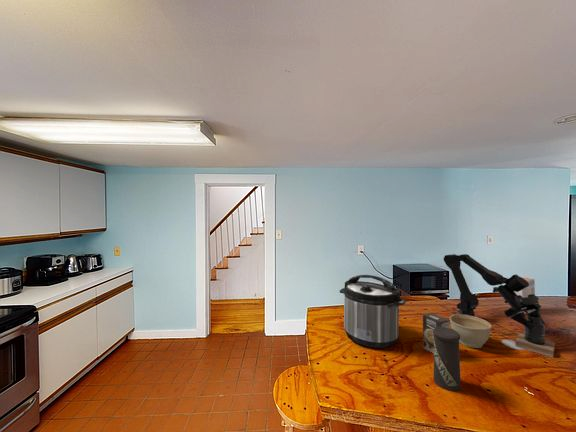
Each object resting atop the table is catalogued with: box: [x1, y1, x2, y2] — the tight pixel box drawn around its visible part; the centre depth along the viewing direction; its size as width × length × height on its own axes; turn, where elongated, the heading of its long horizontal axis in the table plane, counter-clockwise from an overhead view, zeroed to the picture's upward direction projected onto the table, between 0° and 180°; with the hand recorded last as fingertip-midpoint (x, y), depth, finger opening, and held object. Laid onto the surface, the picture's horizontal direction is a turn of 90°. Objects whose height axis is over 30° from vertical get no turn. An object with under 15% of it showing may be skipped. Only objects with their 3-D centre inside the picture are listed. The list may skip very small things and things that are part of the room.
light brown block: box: [514, 332, 556, 358], centre depth 113 cm, size 12×12×2 cm
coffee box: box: [422, 312, 451, 355], centre depth 110 cm, size 9×6×16 cm
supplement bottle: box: [523, 314, 546, 345], centre depth 113 cm, size 7×7×12 cm
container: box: [433, 327, 462, 392], centre depth 90 cm, size 9×9×20 cm
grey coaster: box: [501, 339, 527, 351], centre depth 115 cm, size 9×9×1 cm
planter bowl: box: [449, 314, 492, 349], centre depth 117 cm, size 16×16×11 cm
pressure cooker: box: [339, 274, 407, 348], centre depth 125 cm, size 30×28×32 cm
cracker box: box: [514, 277, 536, 316], centre depth 152 cm, size 14×6×21 cm, turn 111°
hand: (538, 327), depth 111 cm, fingers open, 9 cm apart
